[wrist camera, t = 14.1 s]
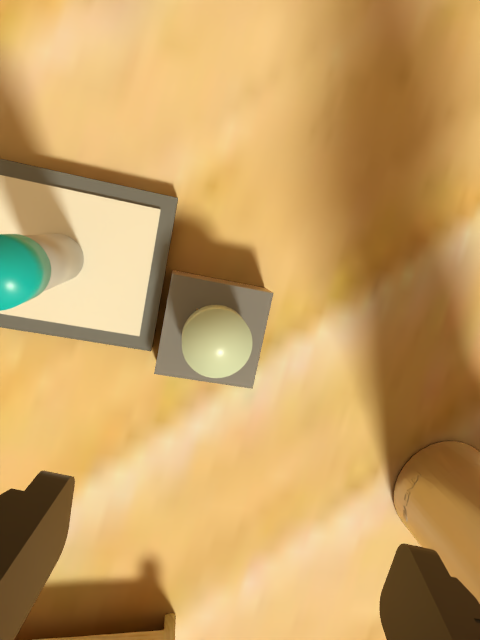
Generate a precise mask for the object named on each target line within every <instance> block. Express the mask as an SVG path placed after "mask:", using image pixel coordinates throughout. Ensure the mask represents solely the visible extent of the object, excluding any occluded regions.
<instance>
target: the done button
mask: <svg viewBox="0 0 480 640" xmlns="http://www.w3.org/2000/svg"><path fill="white" fill-rule="evenodd" d="M251 351H252V335H251V332H250V329H249V327H248V326H247V324H246V323H245V321H244V320H243V319H242V317H241V316H240V315H239V314H238V313H237V312H236V311H234V310H233V309H231V308H229V307H226V306H223V305H208V306H205V307H202V308H200V309H198V310H196V311H195V312H194V313H193V314H192V315H191V316H190V317H189V318H188V319H187V321H186V323H185V325H184V327H183V331H182V352H183V355H184V358H185V360H186V362H187V363H188V365H189V366H190V367H191V368H192V369H193V370H194V371H196V372H197V373H199V374H201V375H203V376H205V377H209V378H223V377H227V376H230V375H232V374H234V373H236V372H237V371H239V370H240V369H241V368H242V367H243V366H244V365H245V364H246V362H247V361H248V359H249V357H250V354H251Z"/></svg>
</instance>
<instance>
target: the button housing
mask: <svg viewBox="0 0 480 640" xmlns="http://www.w3.org/2000/svg"><path fill="white" fill-rule="evenodd" d="M272 297H273V293H272V292H271V291H269V290H268V289H266V288H263V287H258V286H253V285H248V284H242V283H237V282H232V281H227V280H222V279H216V278H211V277H206V276H201V275H195V274H190V273H185V272H180V271H175V270H173V271H172V276H171V282H170V288H169V293H168V299H167V305H166V310H165V316H164V322H163V327H162V333H161V339H160V344H159V350H158V356H157V361H156V367H155V372H154V374H158V375H165V376H172V377H178V378H185V379H192V380H198V381H205V382H212V383H218V384H225V385H232V386H238V387H245V388H252V389H253V384H254V379H255V375H256V370H257V366H258V361H259V356H260V352H261V347H262V343H263V338H264V333H265V329H266V324H267V320H268V315H269V310H270V306H271V301H272ZM208 305H223V306H226V307H229V308H231V309H233V310H234V311H236V312H237V313H238V314H239V315H240V316H241V317H242V319H243V320H244V321H245V323H246V324H247V326H248V327H249V329H250V332H251V335H252V351H251V354H250V357H249V359H248V361H247V362H246V364H245V365H244V366H243V367H242V368H241V369H240V370H239V371H237V372H236V373H234V374H232V375H230V376H227V377H223V378H209V377H205V376H203V375H201V374H199V373H197V372H196V371H194V370H193V369H192V368H191V367H190V366H189V365H188V363H187V362H186V360H185V358H184V355H183V352H182V331H183V327H184V325H185V323H186V321H187V319H188V318H189V317H190V316H191V315H192V314H193V313H194V312H195V311H196V309H200V308H202V307H205V306H208Z"/></svg>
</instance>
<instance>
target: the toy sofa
mask: <svg viewBox="0 0 480 640" xmlns="http://www.w3.org/2000/svg"><path fill="white" fill-rule="evenodd" d="M175 619H176V616H175V614H174V613H168V614H166V615H165V619H164V630H158V631H145V632H131V633H118V634H106V635H92V636H80V637H65V638H49V639H34V640H175Z"/></svg>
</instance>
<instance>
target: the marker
mask: <svg viewBox="0 0 480 640" xmlns="http://www.w3.org/2000/svg"><path fill="white" fill-rule="evenodd" d="M83 263H84V256H83V252H82V249H81V247H80V246H79V244H78V243H77V242H76V241H75V240H74V239H72V238H71V237H69V236H67V235H64V234H39V235H19V234H0V311H1V310H7V309H11V308H13V307H16V306H18V305H20V304H22V303H24V302H27V301H29V300H31V299H33V298H35V297H37V296H38V295H40V294H41V293H42V292H44V291H46V290H48V289H51V288H53V287H55V286H57V285H60V284H62V283H64V282H66V281H69V280H71V279H73V278H74V277H76V276H77V275H78V274H79V273H80V271H81V269H82V267H83Z"/></svg>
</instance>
